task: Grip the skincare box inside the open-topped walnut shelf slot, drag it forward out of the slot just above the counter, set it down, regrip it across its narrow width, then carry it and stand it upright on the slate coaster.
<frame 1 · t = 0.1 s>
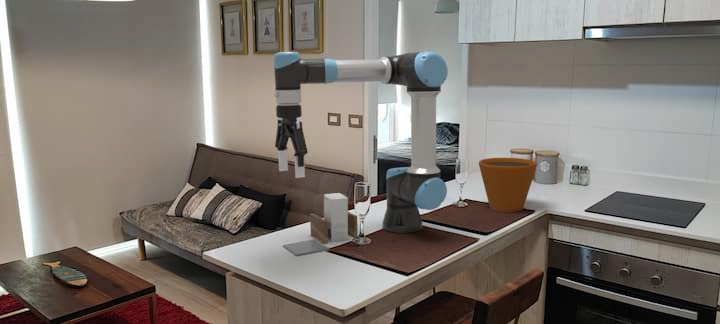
hand: (291, 174, 164), 28 cm above the breakfast bar, fingers open, 13 cm apart
flower pot: (506, 208, 230), on the breakfast bar
walnut shelf slot: (334, 236, 194), on the breakfast bar
slate coaster: (306, 248, 181), on the breakfast bar
skincare box: (336, 238, 192), on the breakfast bar
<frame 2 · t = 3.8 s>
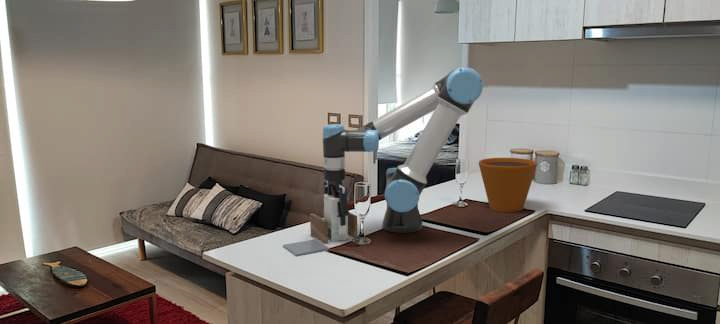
hand: (336, 230, 192), 3 cm above the breakfast bar, fingers closed on skincare box, 8 cm apart
skincare box: (336, 238, 192), on the breakfast bar, touching gripper
everything else where it was.
when the fingers open (3 cm above the breakfast bar, at t = 7.5 s): skincare box stays where it is, on the breakfast bar.
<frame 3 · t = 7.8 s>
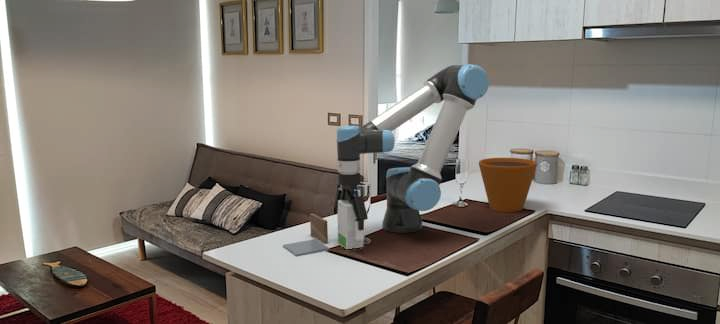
hand: (350, 234, 182), 4 cm above the breakfast bar, fingers open, 12 cm apart
skincare box: (351, 246, 183), on the breakfast bar
everything else where it was.
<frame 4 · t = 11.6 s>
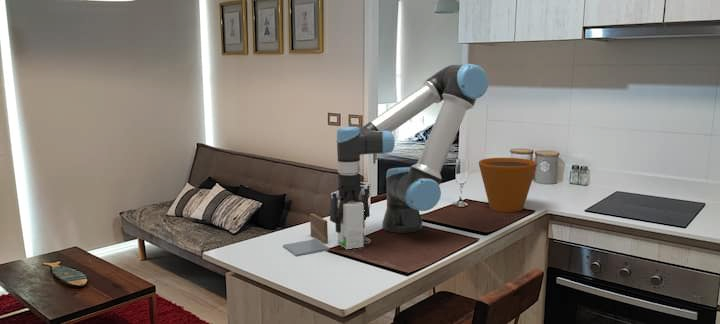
hand: (350, 239, 183), 2 cm above the breakfast bar, fingers closed on skincare box, 7 cm apart
skincare box: (351, 246, 183), on the breakfast bar, touching gripper
everything else where it was.
when the fingers open (4 cm above the breakfast bar, at t = 17.4 s): skincare box drops 1 cm, resting on slate coaster.
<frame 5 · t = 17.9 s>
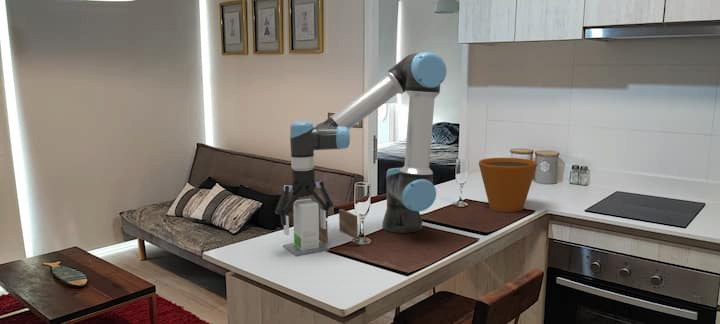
hand: (305, 231, 181), 6 cm above the breakfast bar, fingers open, 13 cm apart
skincare box: (307, 247, 181), resting on slate coaster
everything else where it was.
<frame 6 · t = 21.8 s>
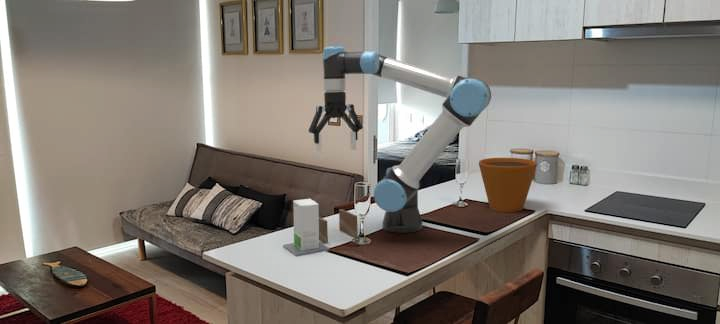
hand: (336, 151, 192), 31 cm above the breakfast bar, fingers open, 13 cm apart
nothing on the breakfast bar moved.
at the end: skincare box inside the target area on the slate coaster (0.4 cm from its centre), point 0.4 cm above the slate coaster's base; skincare box tilted 0°; the gripper is holding nothing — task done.
